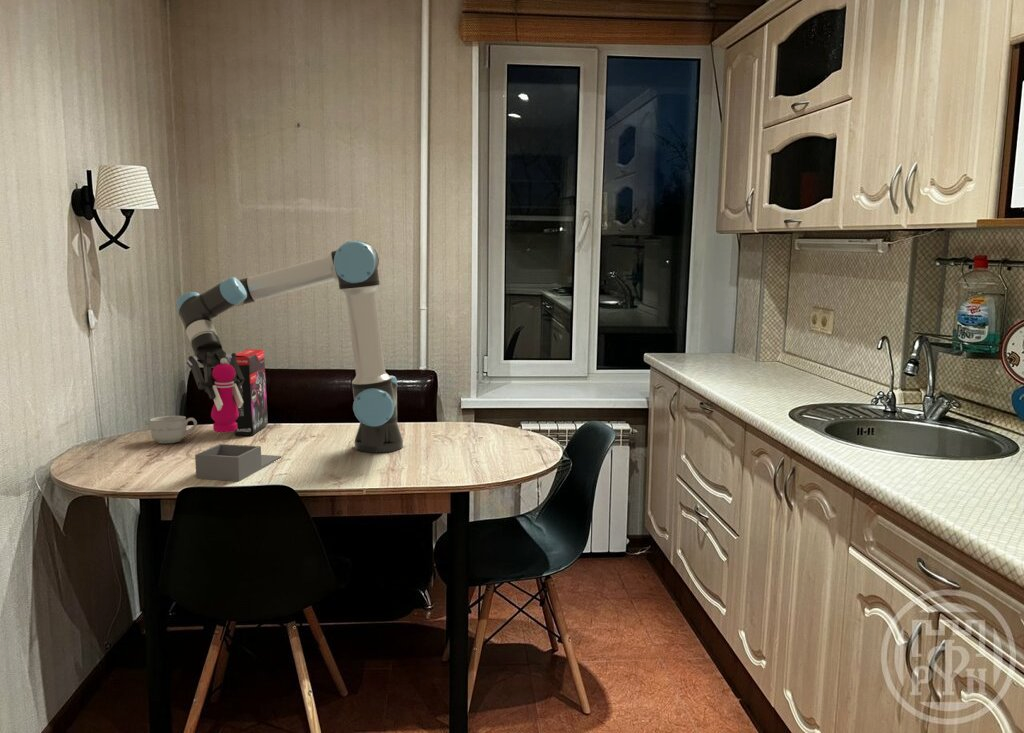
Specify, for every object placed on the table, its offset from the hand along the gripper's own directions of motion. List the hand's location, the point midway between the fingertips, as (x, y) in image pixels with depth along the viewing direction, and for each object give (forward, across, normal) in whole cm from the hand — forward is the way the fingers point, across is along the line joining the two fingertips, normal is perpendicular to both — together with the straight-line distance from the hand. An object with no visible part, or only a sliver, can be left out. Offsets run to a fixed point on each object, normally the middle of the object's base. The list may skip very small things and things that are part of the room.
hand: (230, 406), depth 219 cm
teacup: (-21, -3, -50) cm, 54 cm away
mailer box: (+9, -6, -19) cm, 22 cm away
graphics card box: (-21, -28, -49) cm, 60 cm away
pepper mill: (+3, 0, -8) cm, 8 cm away
